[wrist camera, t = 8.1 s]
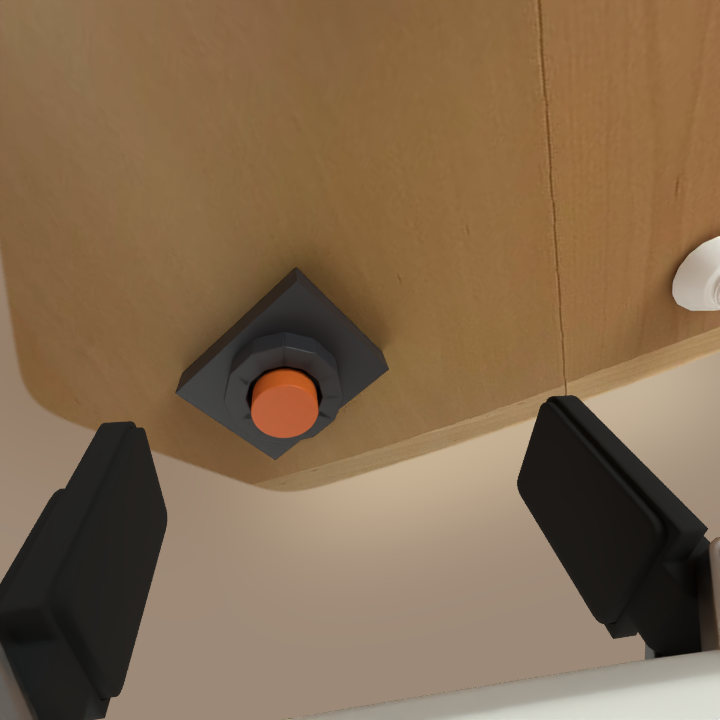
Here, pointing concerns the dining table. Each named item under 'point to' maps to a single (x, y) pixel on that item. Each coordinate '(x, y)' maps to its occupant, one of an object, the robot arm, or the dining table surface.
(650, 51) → the dining table surface
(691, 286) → the white jar
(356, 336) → the button block
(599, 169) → the dining table surface
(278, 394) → the button
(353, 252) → the dining table surface
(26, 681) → the robot arm
